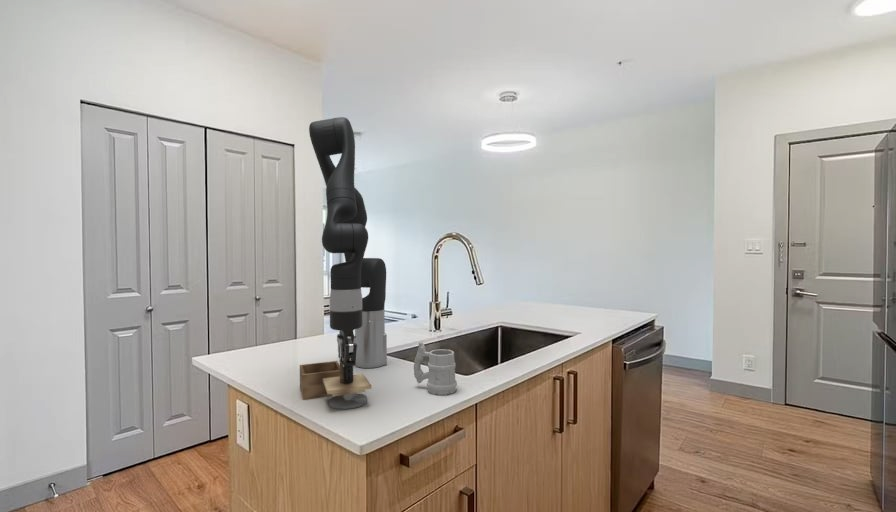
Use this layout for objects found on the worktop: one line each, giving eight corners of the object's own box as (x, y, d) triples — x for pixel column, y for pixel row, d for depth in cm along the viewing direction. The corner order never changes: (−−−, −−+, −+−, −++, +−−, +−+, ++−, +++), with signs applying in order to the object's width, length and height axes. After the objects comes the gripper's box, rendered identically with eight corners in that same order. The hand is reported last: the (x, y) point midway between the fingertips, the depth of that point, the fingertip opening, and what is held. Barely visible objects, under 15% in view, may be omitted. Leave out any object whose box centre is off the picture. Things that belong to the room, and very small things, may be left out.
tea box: (337, 382, 116) (337, 360, 116) (343, 394, 108) (342, 370, 107) (299, 387, 113) (299, 364, 112) (302, 399, 104) (302, 375, 104)
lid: (363, 380, 108) (362, 355, 108) (371, 392, 99) (371, 365, 99) (322, 385, 104) (322, 359, 104) (327, 398, 95) (327, 370, 95)
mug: (450, 397, 105) (450, 348, 104) (407, 391, 109) (406, 344, 109) (461, 387, 112) (461, 341, 111) (420, 382, 116) (419, 338, 116)
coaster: (363, 393, 108) (363, 391, 108) (371, 405, 100) (371, 403, 99) (326, 398, 104) (326, 396, 104) (331, 411, 96) (331, 409, 96)
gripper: (368, 310, 96) (369, 387, 97) (356, 303, 109) (357, 370, 110) (334, 313, 93) (334, 391, 94) (326, 305, 106) (326, 374, 107)
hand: (346, 380), depth 102 cm, fingers closed on lid, 3 cm apart
